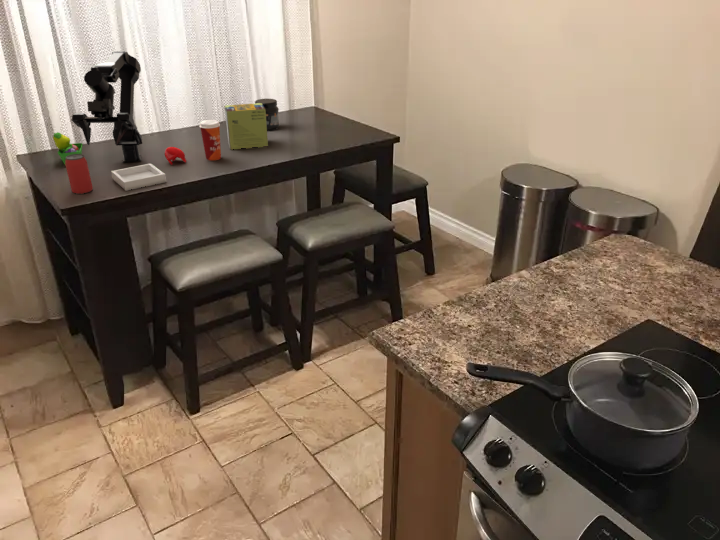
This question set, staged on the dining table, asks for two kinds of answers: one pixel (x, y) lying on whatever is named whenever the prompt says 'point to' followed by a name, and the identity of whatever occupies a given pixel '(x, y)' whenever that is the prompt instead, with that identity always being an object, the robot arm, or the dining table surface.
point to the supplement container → (270, 112)
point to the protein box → (246, 125)
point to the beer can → (78, 174)
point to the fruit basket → (66, 146)
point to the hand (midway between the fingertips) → (102, 144)
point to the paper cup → (211, 139)
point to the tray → (138, 176)
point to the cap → (174, 154)
